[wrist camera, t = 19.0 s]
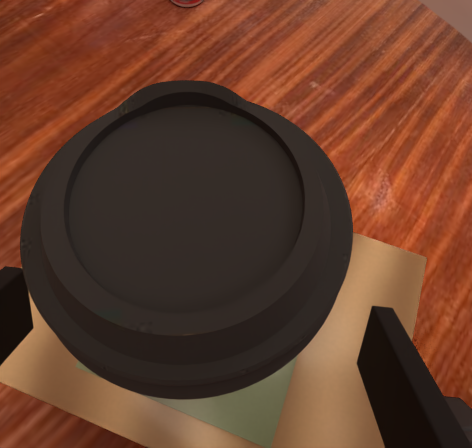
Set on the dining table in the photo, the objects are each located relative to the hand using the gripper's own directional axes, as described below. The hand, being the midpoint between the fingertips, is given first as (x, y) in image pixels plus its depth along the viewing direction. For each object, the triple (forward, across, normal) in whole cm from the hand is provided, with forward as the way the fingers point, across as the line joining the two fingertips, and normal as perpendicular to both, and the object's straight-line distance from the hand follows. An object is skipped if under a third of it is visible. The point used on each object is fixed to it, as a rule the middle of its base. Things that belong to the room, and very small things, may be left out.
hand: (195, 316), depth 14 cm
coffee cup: (+7, 0, -5) cm, 8 cm away
